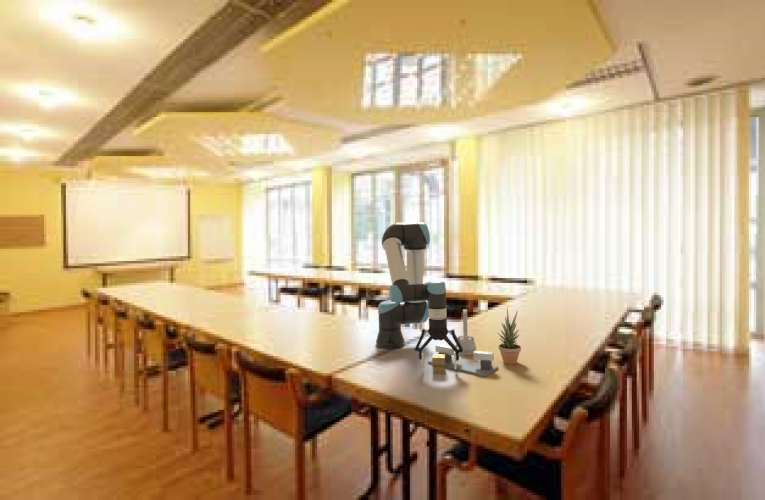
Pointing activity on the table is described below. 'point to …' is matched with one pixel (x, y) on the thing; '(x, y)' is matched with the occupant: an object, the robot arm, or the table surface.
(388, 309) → the robot arm
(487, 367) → the shaft bench
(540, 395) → the table surface
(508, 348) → the potted plant
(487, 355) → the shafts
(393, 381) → the table surface
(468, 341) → the engine component
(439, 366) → the tan cardboard block
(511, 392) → the table surface
